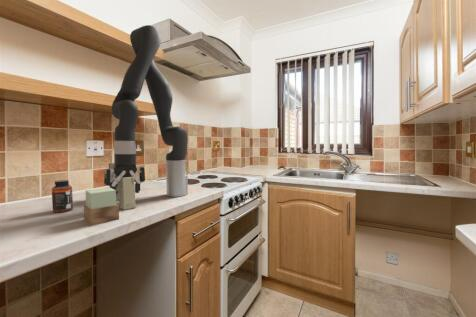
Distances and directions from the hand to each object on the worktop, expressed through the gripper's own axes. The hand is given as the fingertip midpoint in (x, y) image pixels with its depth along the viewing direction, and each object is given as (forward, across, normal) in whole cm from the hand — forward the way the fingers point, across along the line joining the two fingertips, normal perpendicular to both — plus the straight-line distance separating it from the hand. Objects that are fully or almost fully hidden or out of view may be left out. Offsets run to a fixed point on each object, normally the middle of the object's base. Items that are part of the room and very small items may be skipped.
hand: (125, 194), depth 86 cm
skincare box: (+6, 0, 0) cm, 6 cm away
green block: (+1, +11, +8) cm, 13 cm away
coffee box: (+5, -4, -19) cm, 20 cm away
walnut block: (+6, +11, +8) cm, 14 cm away
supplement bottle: (+6, +17, -13) cm, 23 cm away
